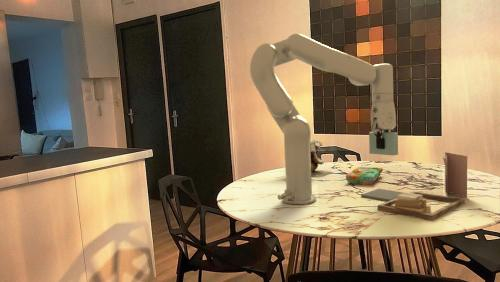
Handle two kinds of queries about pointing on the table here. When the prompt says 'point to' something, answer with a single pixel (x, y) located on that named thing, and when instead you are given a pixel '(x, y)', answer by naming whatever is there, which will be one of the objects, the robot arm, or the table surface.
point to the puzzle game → (363, 175)
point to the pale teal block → (390, 144)
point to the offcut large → (424, 210)
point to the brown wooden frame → (432, 216)
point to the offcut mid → (411, 204)
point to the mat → (382, 194)
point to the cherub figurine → (316, 160)
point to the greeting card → (456, 174)
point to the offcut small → (410, 197)
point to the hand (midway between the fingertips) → (383, 147)
